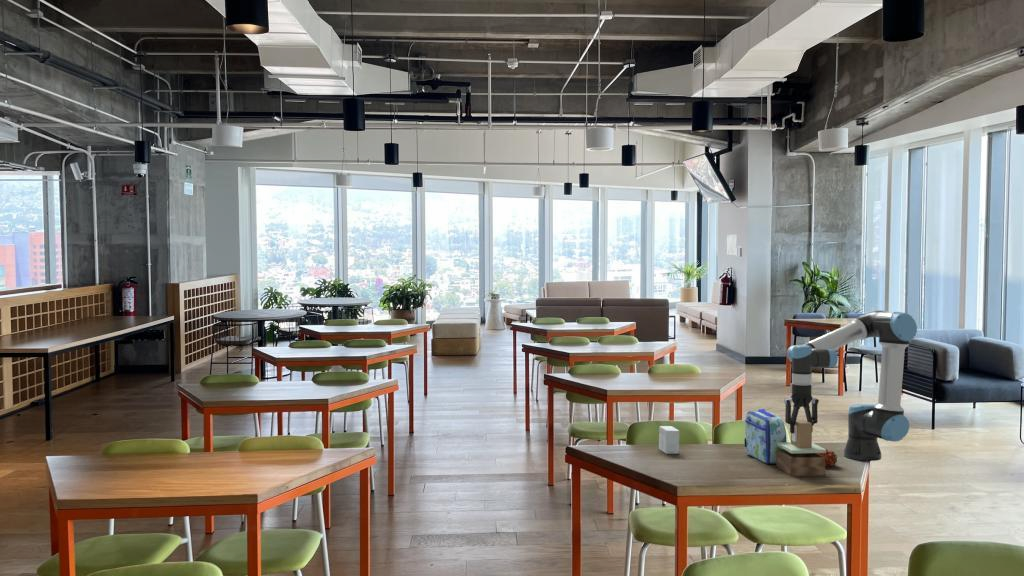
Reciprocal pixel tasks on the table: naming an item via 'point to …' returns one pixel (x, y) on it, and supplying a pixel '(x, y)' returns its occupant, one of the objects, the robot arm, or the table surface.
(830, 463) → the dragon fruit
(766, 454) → the lunch box
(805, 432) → the lid
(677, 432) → the skincare box
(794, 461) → the box
